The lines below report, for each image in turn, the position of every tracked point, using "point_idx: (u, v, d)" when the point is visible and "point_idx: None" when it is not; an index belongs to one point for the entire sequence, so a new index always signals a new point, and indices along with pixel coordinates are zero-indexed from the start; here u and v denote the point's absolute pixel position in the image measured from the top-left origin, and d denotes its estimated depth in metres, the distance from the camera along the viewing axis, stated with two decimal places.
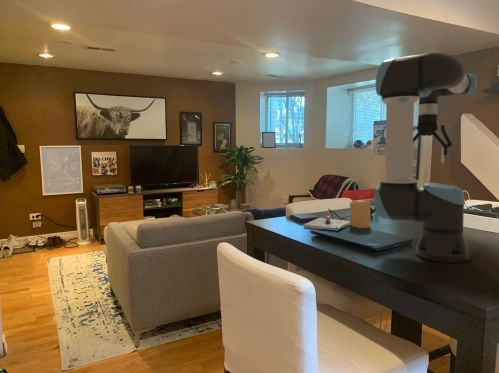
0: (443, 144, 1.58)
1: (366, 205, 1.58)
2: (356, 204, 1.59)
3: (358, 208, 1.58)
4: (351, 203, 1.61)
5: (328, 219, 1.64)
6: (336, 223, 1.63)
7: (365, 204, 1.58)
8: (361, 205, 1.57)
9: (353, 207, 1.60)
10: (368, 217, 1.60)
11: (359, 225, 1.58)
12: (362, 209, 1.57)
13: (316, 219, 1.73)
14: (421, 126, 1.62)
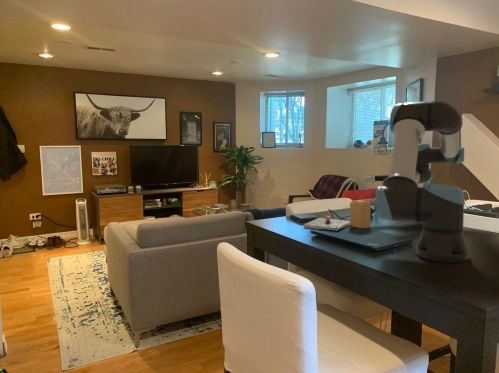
0: None
1: (366, 205, 1.58)
2: (356, 204, 1.59)
3: (358, 208, 1.58)
4: (351, 203, 1.61)
5: (328, 219, 1.64)
6: (336, 223, 1.63)
7: (365, 204, 1.58)
8: (361, 205, 1.57)
9: (353, 207, 1.60)
10: (368, 217, 1.60)
11: (359, 225, 1.58)
12: (362, 209, 1.57)
13: (316, 219, 1.73)
14: None
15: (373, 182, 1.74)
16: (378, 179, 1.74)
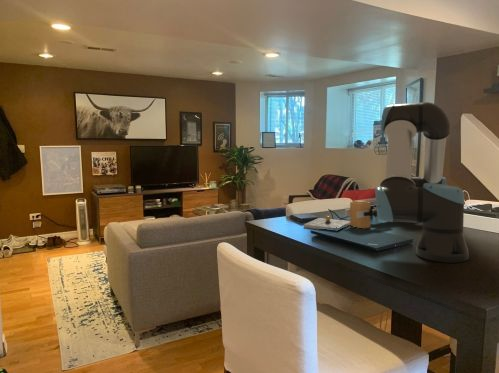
0: (372, 210, 1.59)
1: (366, 205, 1.58)
2: (356, 204, 1.59)
3: (358, 208, 1.58)
4: (351, 203, 1.61)
5: (328, 219, 1.64)
6: (336, 223, 1.63)
7: (365, 204, 1.58)
8: (361, 205, 1.57)
9: (353, 207, 1.60)
10: (368, 217, 1.60)
11: (359, 225, 1.58)
12: (362, 209, 1.57)
13: (316, 219, 1.73)
14: None
15: None
16: None
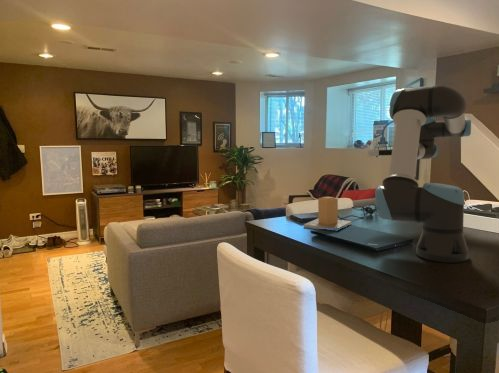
0: None
1: (333, 201, 1.62)
2: (323, 200, 1.62)
3: (325, 204, 1.61)
4: (319, 199, 1.64)
5: None
6: (336, 223, 1.63)
7: (332, 200, 1.61)
8: (328, 201, 1.60)
9: (321, 203, 1.64)
10: (335, 213, 1.63)
11: (326, 221, 1.61)
12: (329, 205, 1.61)
13: (316, 219, 1.73)
14: None
15: (377, 156, 1.69)
16: (382, 153, 1.68)
